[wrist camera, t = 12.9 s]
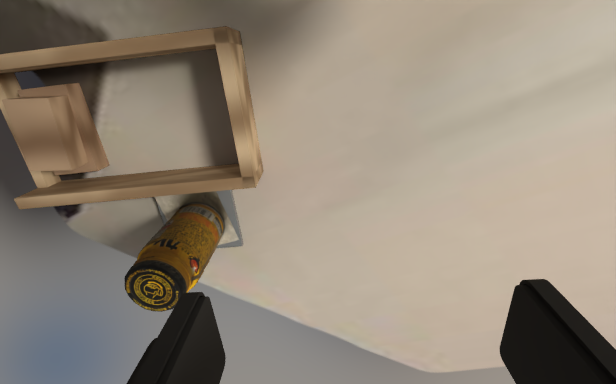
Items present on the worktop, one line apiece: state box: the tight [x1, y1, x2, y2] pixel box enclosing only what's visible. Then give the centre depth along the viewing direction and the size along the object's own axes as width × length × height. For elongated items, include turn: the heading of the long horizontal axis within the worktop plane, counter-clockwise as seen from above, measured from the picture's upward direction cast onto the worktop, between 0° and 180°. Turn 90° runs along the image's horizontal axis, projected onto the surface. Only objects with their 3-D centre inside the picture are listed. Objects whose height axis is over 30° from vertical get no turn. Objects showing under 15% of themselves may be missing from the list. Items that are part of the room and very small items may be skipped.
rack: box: [0, 26, 263, 209], centre depth 32 cm, size 14×25×5 cm, turn 96°
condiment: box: [125, 191, 239, 311], centre depth 32 cm, size 7×8×12 cm
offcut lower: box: [17, 83, 109, 175], centre depth 34 cm, size 9×5×2 cm, turn 7°
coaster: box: [157, 190, 243, 248], centre depth 38 cm, size 9×9×1 cm
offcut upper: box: [2, 95, 88, 171], centre depth 31 cm, size 7×4×2 cm, turn 2°
